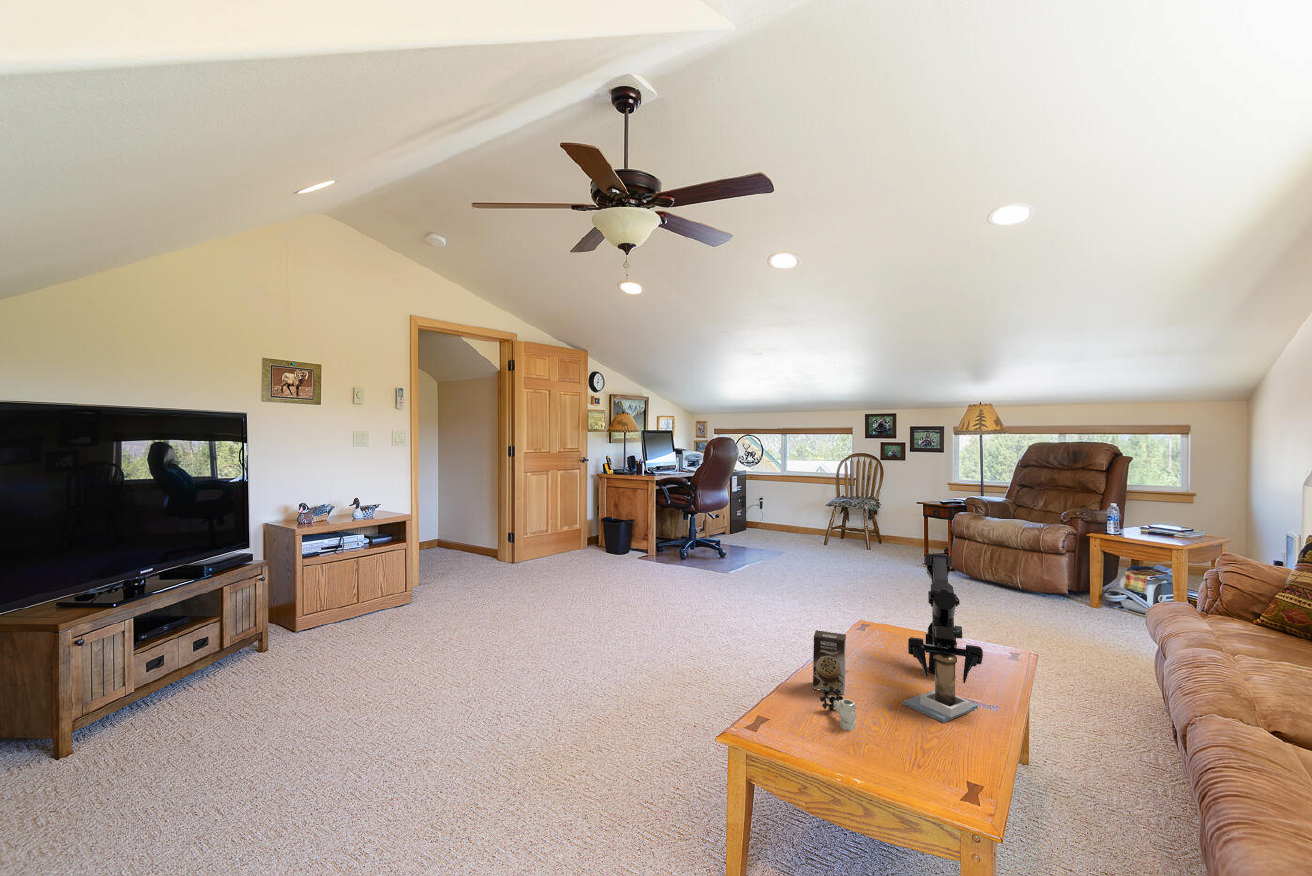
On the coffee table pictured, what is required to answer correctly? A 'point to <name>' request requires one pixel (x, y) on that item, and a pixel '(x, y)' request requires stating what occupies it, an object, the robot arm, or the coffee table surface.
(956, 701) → the collar plate
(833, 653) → the cookie box
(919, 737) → the coffee table surface
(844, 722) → the valve
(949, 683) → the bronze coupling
